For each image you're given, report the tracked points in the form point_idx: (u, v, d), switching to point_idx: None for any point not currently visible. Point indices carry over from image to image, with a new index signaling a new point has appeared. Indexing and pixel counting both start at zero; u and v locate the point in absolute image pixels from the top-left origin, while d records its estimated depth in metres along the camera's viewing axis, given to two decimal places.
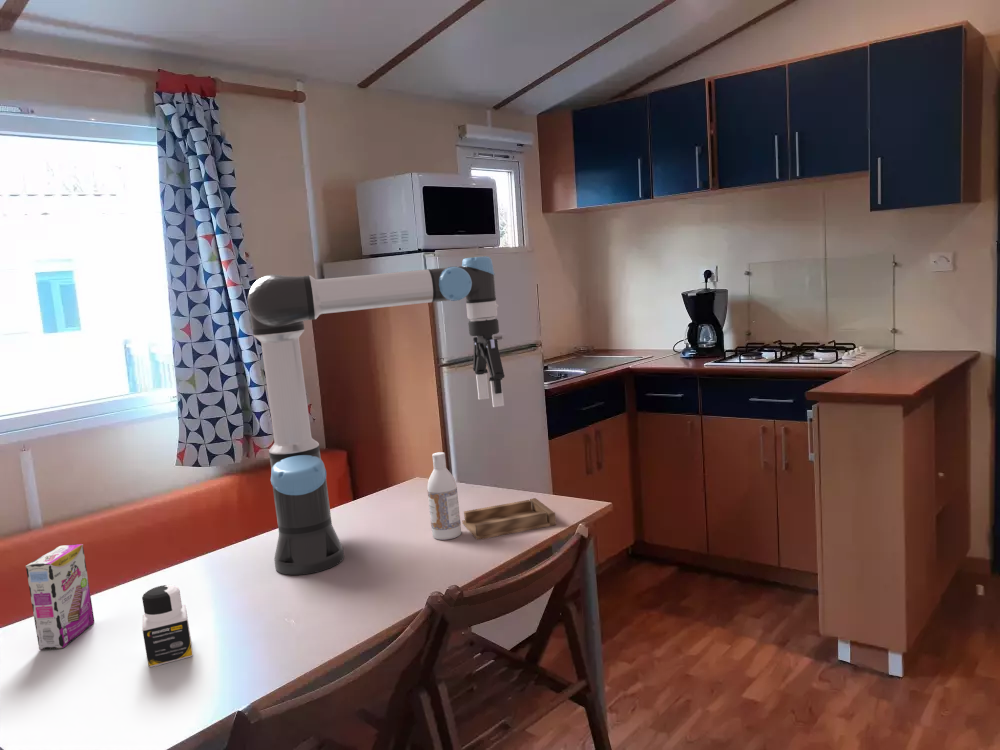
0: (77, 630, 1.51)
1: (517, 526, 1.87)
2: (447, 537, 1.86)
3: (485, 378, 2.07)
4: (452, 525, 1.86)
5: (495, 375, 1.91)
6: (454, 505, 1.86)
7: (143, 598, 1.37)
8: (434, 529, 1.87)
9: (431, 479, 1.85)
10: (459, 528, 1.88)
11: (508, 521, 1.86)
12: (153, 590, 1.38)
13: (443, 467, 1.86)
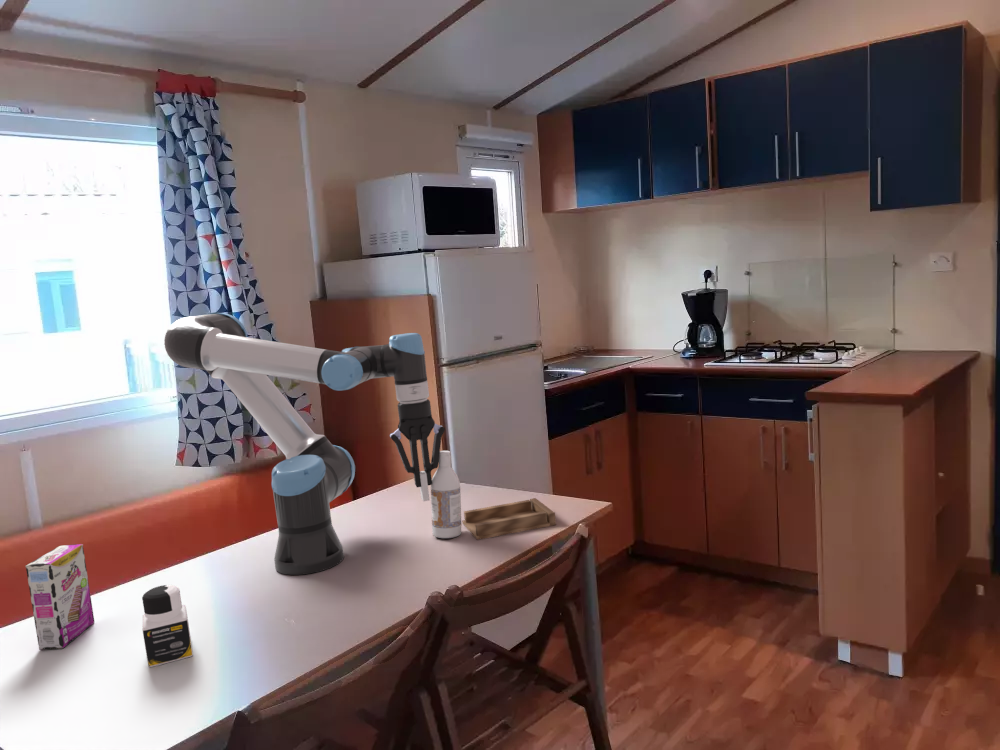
0: (77, 630, 1.51)
1: (517, 526, 1.87)
2: (447, 536, 1.86)
3: None
4: (453, 524, 1.86)
5: (405, 469, 1.85)
6: (457, 505, 1.86)
7: (143, 598, 1.37)
8: (434, 527, 1.87)
9: (435, 477, 1.86)
10: (460, 528, 1.88)
11: (508, 521, 1.86)
12: (153, 590, 1.38)
13: (448, 466, 1.86)
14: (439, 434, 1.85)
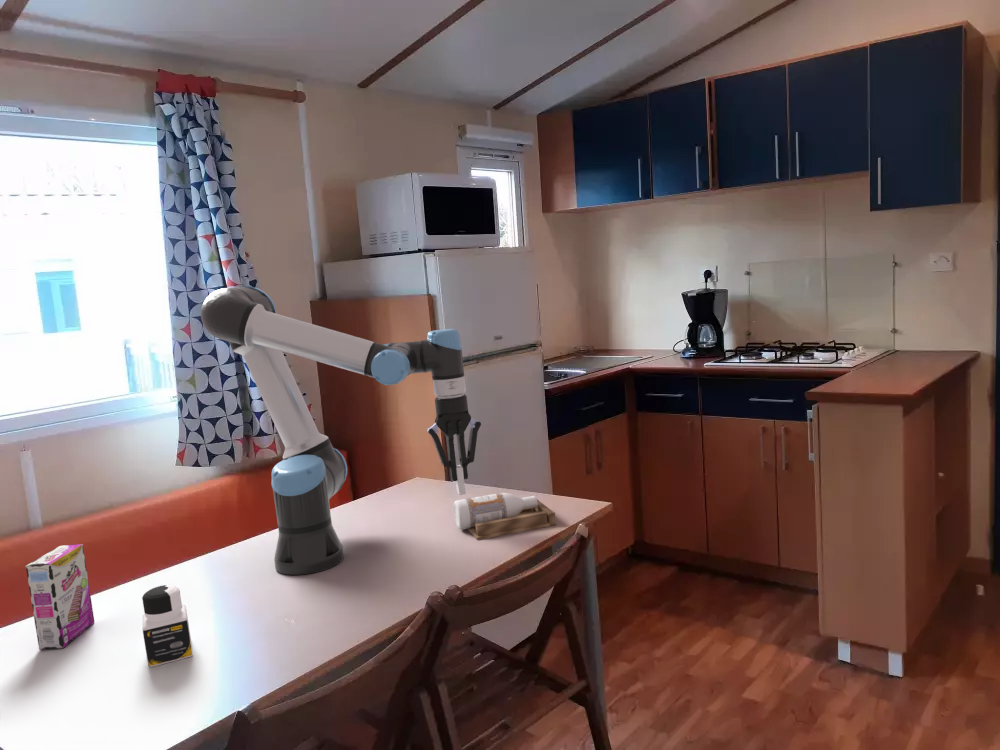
0: (77, 630, 1.51)
1: (517, 526, 1.87)
2: (461, 513, 1.88)
3: None
4: (473, 518, 1.88)
5: None
6: (491, 519, 1.90)
7: (143, 598, 1.37)
8: (465, 500, 1.90)
9: (513, 495, 1.93)
10: (467, 526, 1.89)
11: (508, 521, 1.86)
12: (153, 590, 1.38)
13: (525, 506, 1.94)
14: (476, 429, 1.87)
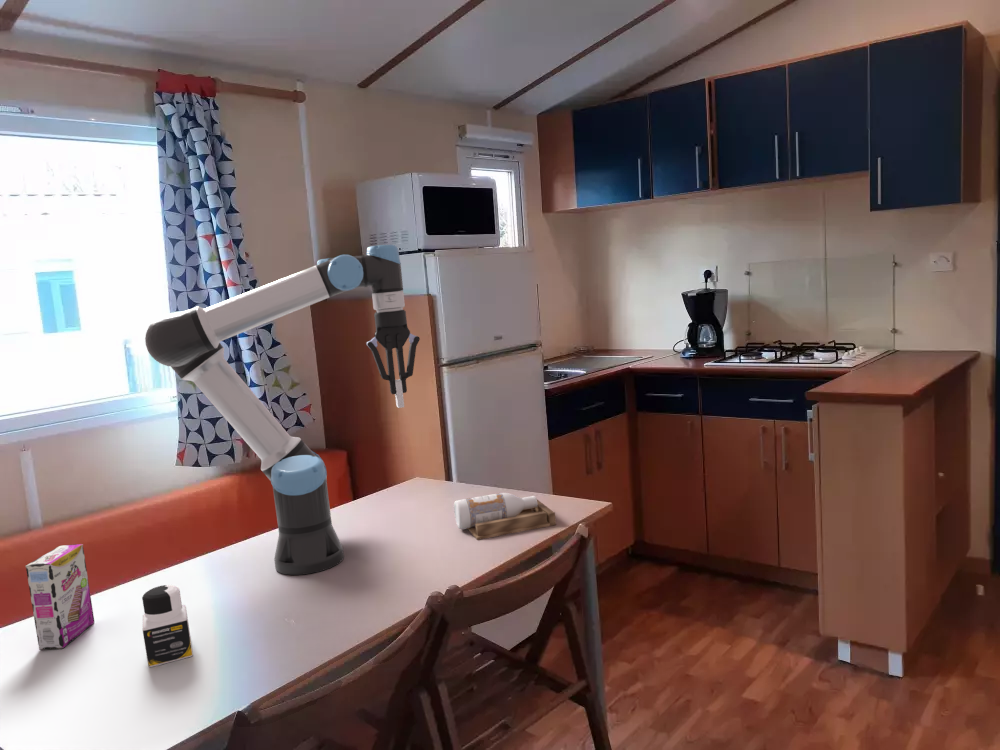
0: (77, 630, 1.51)
1: (517, 526, 1.87)
2: (461, 513, 1.88)
3: None
4: (473, 518, 1.88)
5: (381, 376, 1.93)
6: (491, 519, 1.90)
7: (143, 598, 1.37)
8: (465, 500, 1.90)
9: (513, 495, 1.93)
10: (467, 526, 1.89)
11: (508, 521, 1.86)
12: (153, 590, 1.38)
13: (525, 506, 1.94)
14: (414, 343, 1.92)
